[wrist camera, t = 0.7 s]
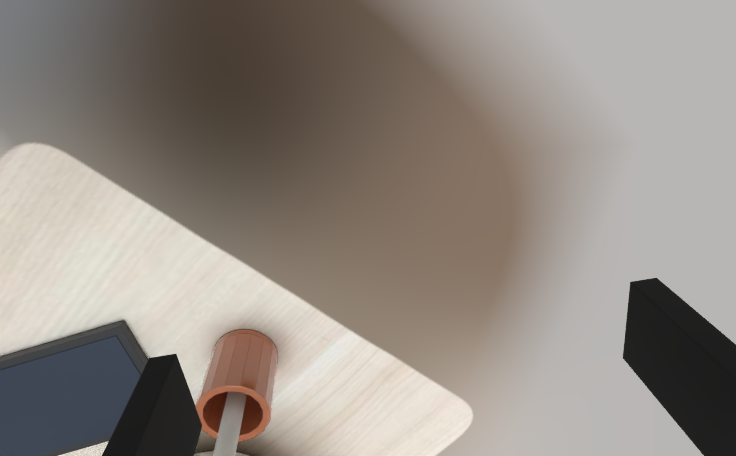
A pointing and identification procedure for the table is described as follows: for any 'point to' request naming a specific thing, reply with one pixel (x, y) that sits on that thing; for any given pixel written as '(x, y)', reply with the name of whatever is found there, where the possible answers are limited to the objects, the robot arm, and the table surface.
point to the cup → (239, 381)
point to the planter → (210, 454)
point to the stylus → (230, 425)
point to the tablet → (67, 391)
